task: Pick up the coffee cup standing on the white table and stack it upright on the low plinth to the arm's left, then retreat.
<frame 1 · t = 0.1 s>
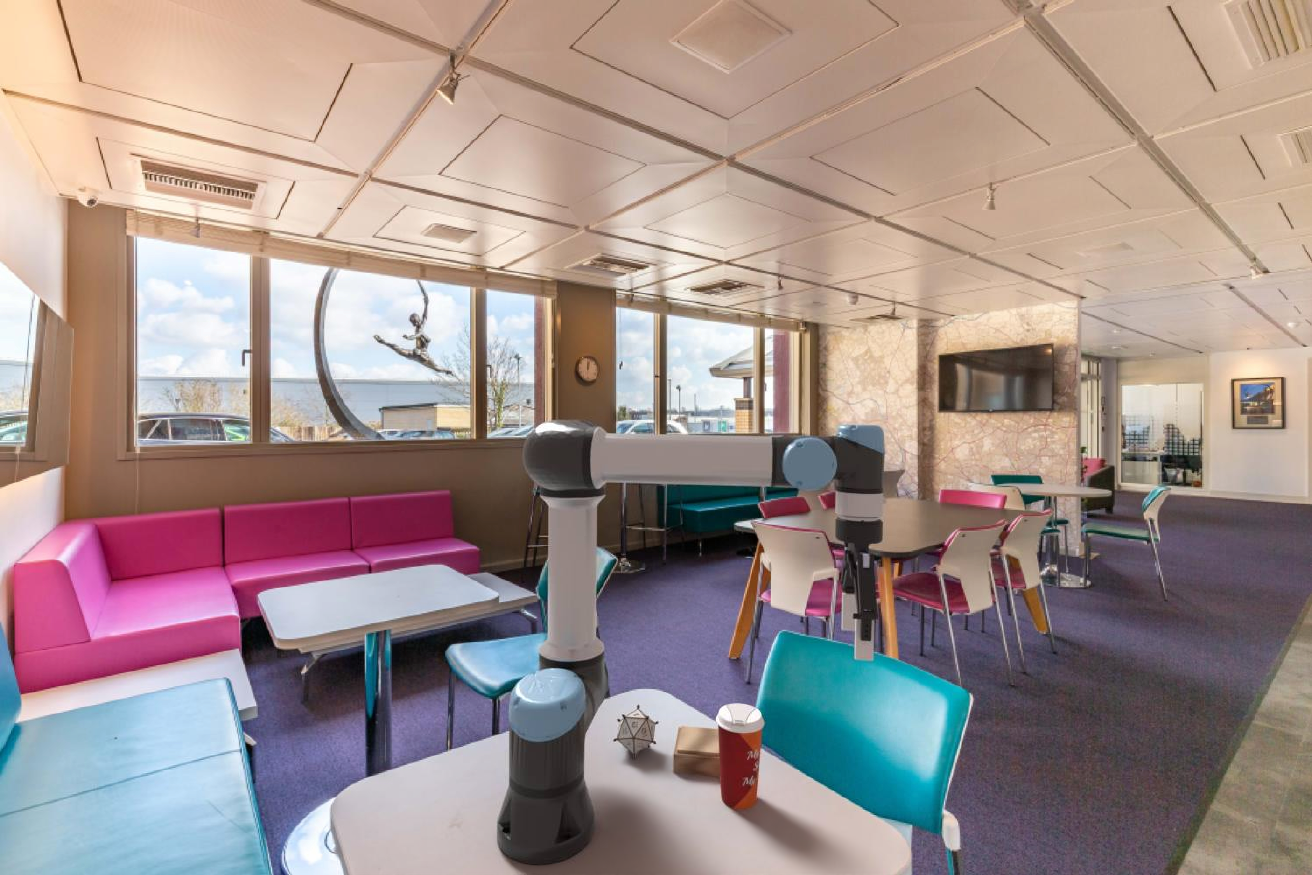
hand: (856, 644, 101), 28 cm above the table, fingers open, 13 cm apart
coffee cup: (738, 799, 104), on the table
game die: (636, 752, 119), on the table
plinth: (702, 759, 116), on the table
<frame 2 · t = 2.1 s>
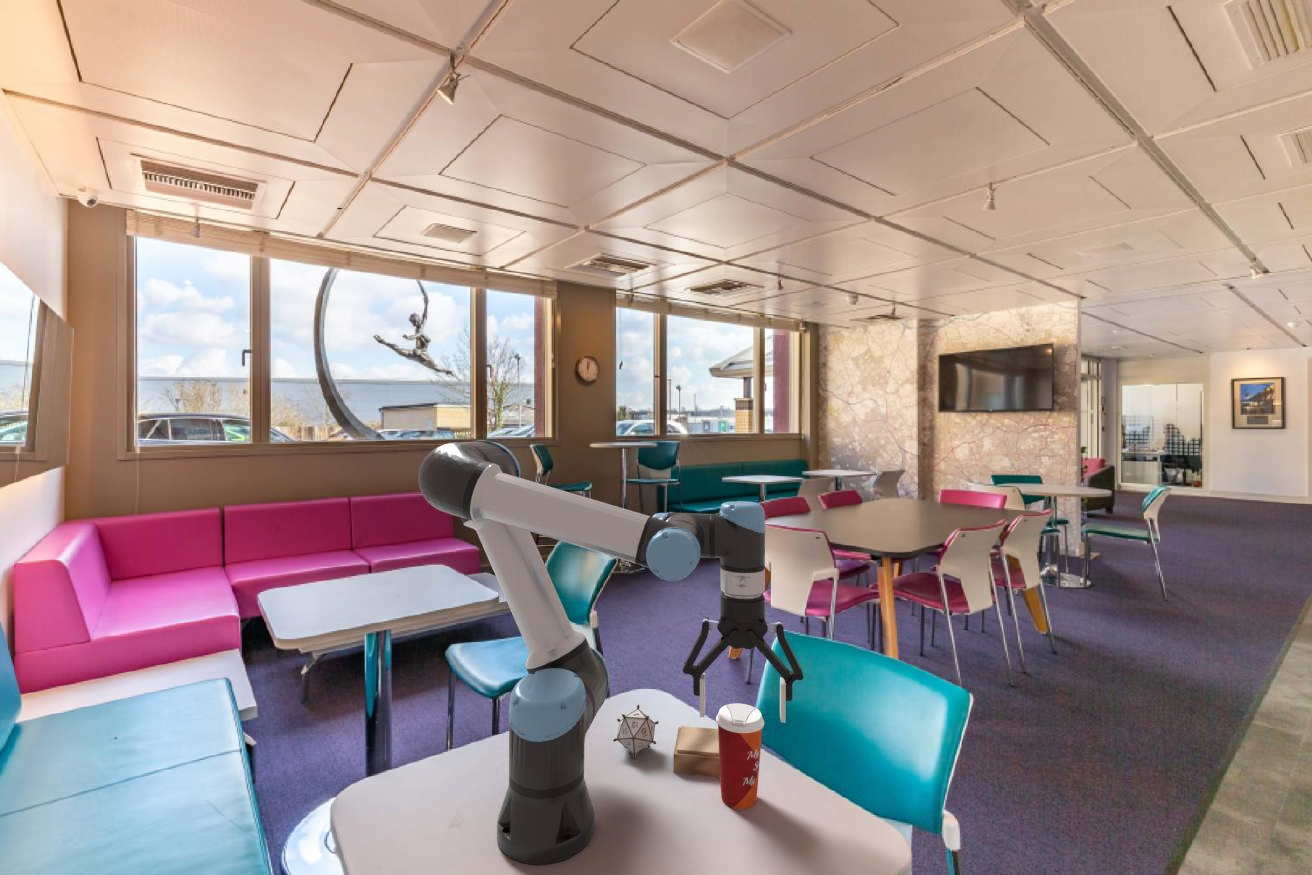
hand: (742, 716, 104), 14 cm above the table, fingers open, 13 cm apart
nothing on the table moved.
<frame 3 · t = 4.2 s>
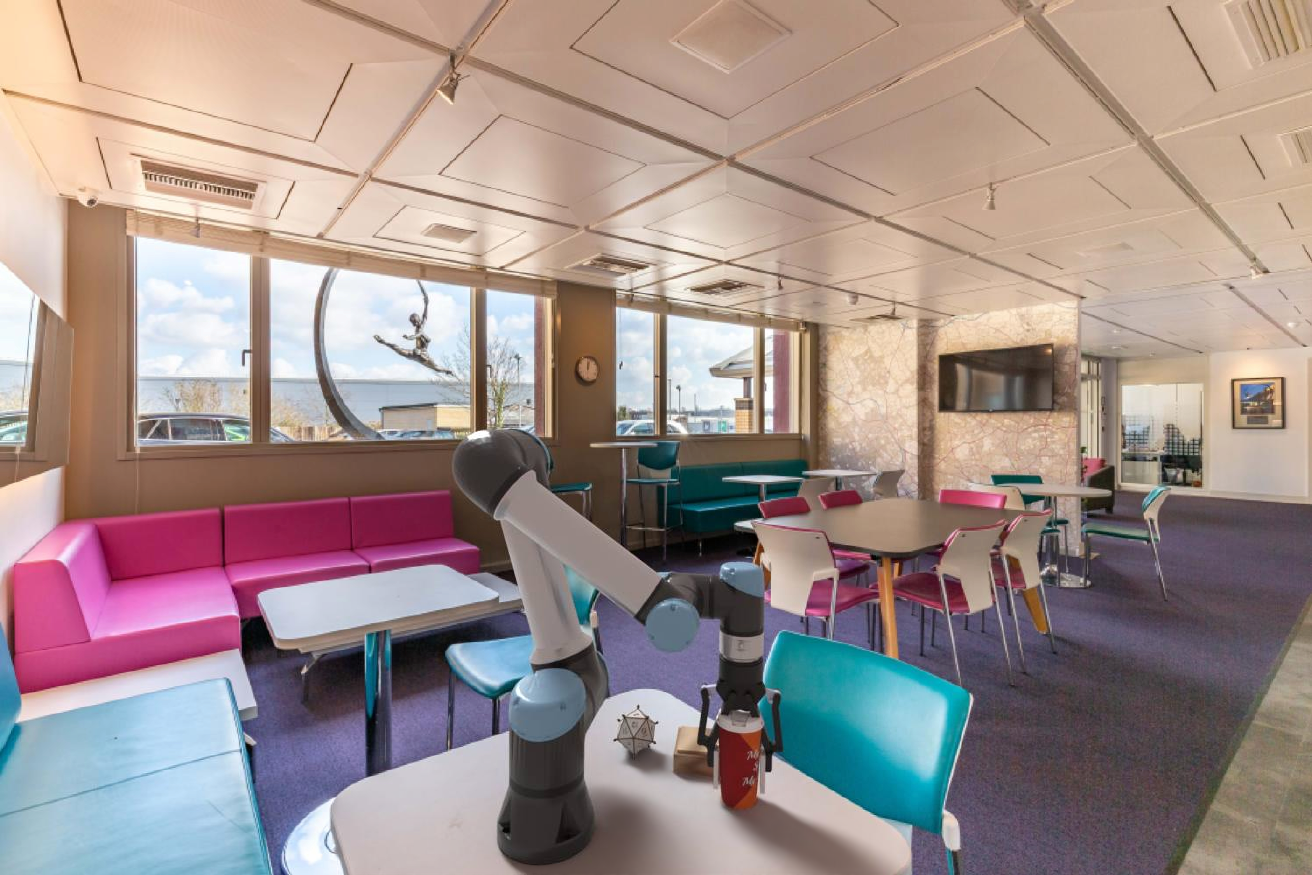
hand: (738, 786, 104), 2 cm above the table, fingers closed on coffee cup, 7 cm apart
coffee cup: (738, 799, 104), on the table, touching gripper
everything else where it was.
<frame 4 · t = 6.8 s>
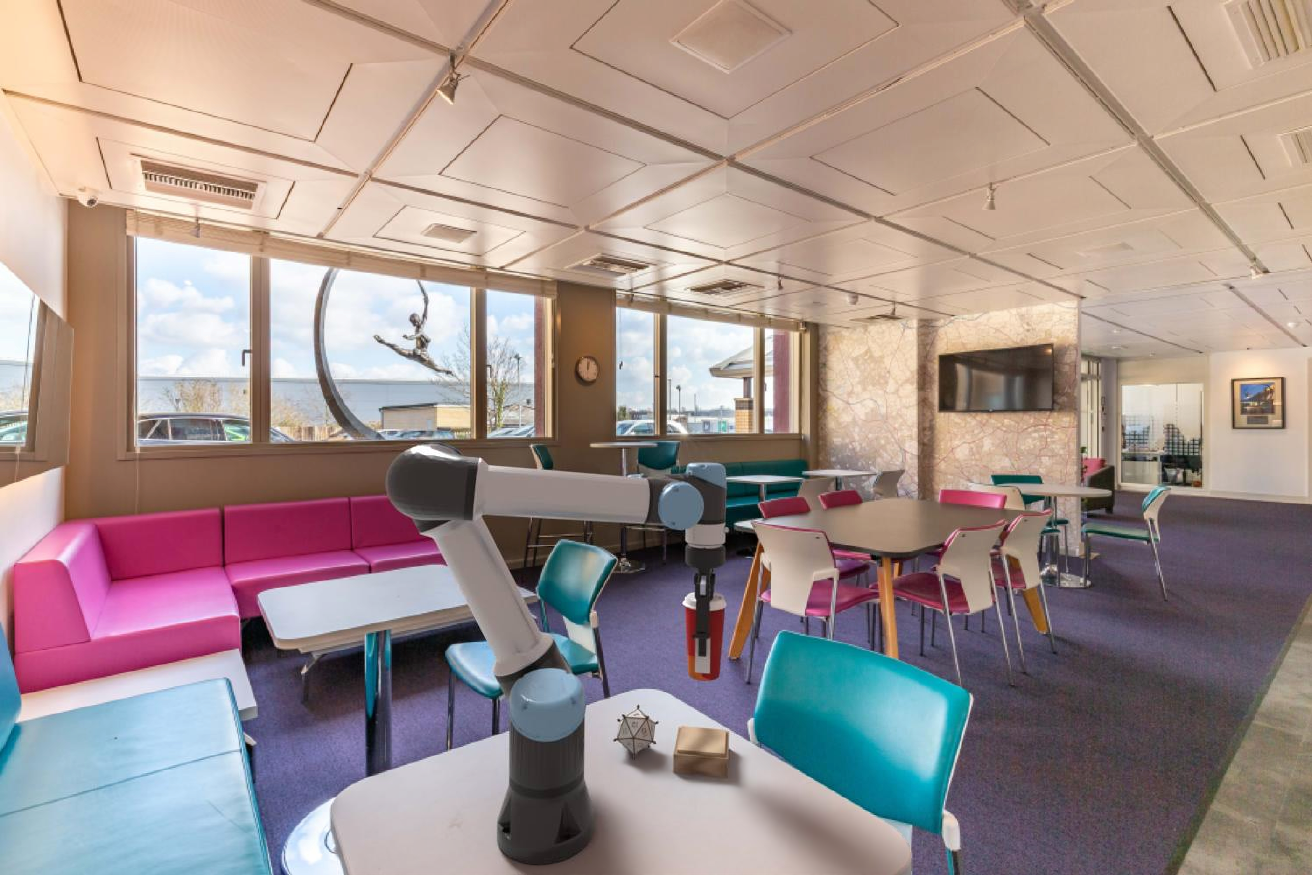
hand: (703, 663, 115), 19 cm above the table, fingers closed on coffee cup, 7 cm apart
coffee cup: (703, 675, 115), point 16 cm above the table, touching gripper
everything else where it was.
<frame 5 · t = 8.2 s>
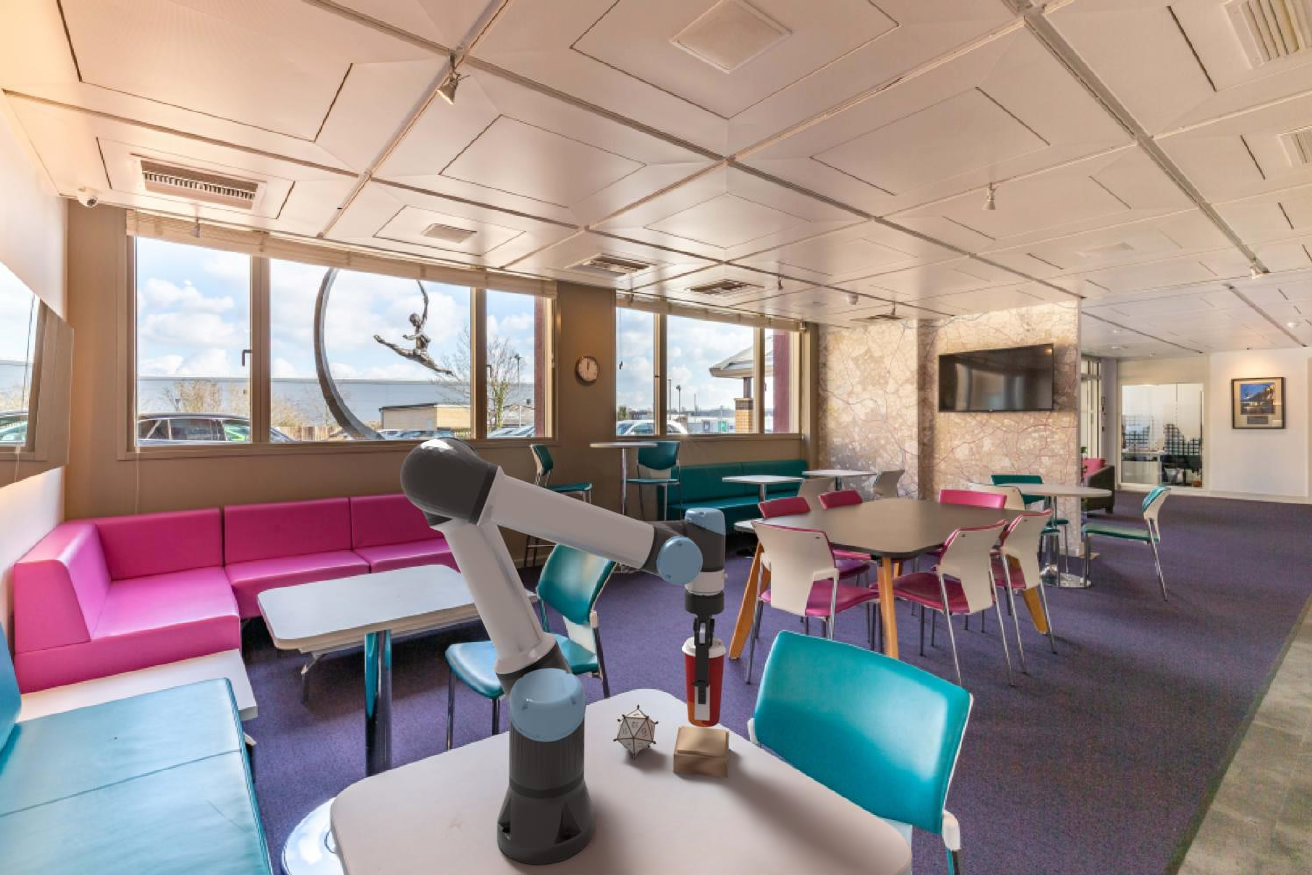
hand: (703, 708, 116), 10 cm above the table, fingers closed on coffee cup, 7 cm apart
coffee cup: (703, 720, 116), point 8 cm above the table, touching gripper
everything else where it was.
when the fingers open (8 cm above the table, at t = 9.5 s): coffee cup drops 1 cm, resting on plinth.
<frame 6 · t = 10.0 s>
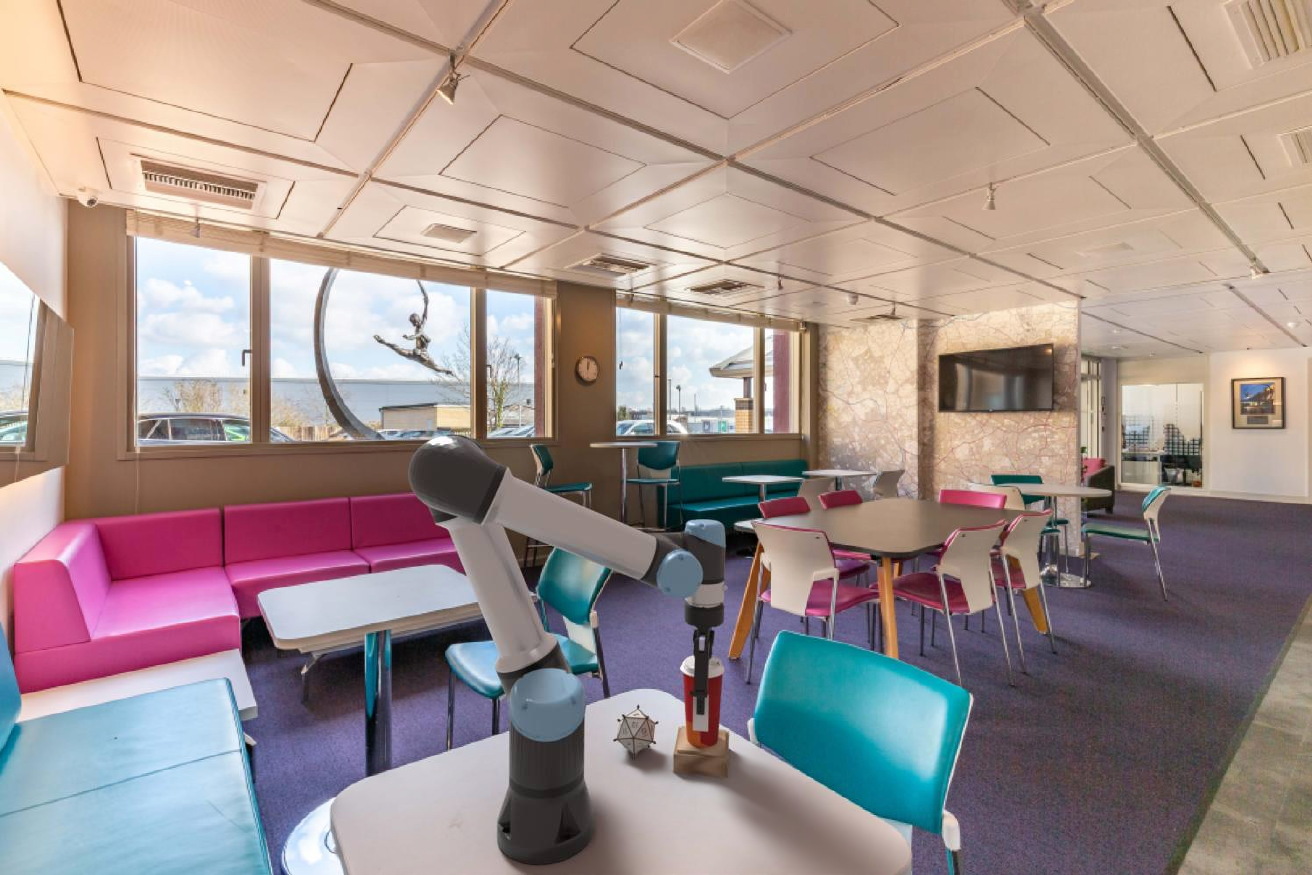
hand: (702, 712, 116), 9 cm above the table, fingers open, 13 cm apart
coffee cup: (702, 740, 116), point 4 cm above the table, touching plinth
everything else where it was.
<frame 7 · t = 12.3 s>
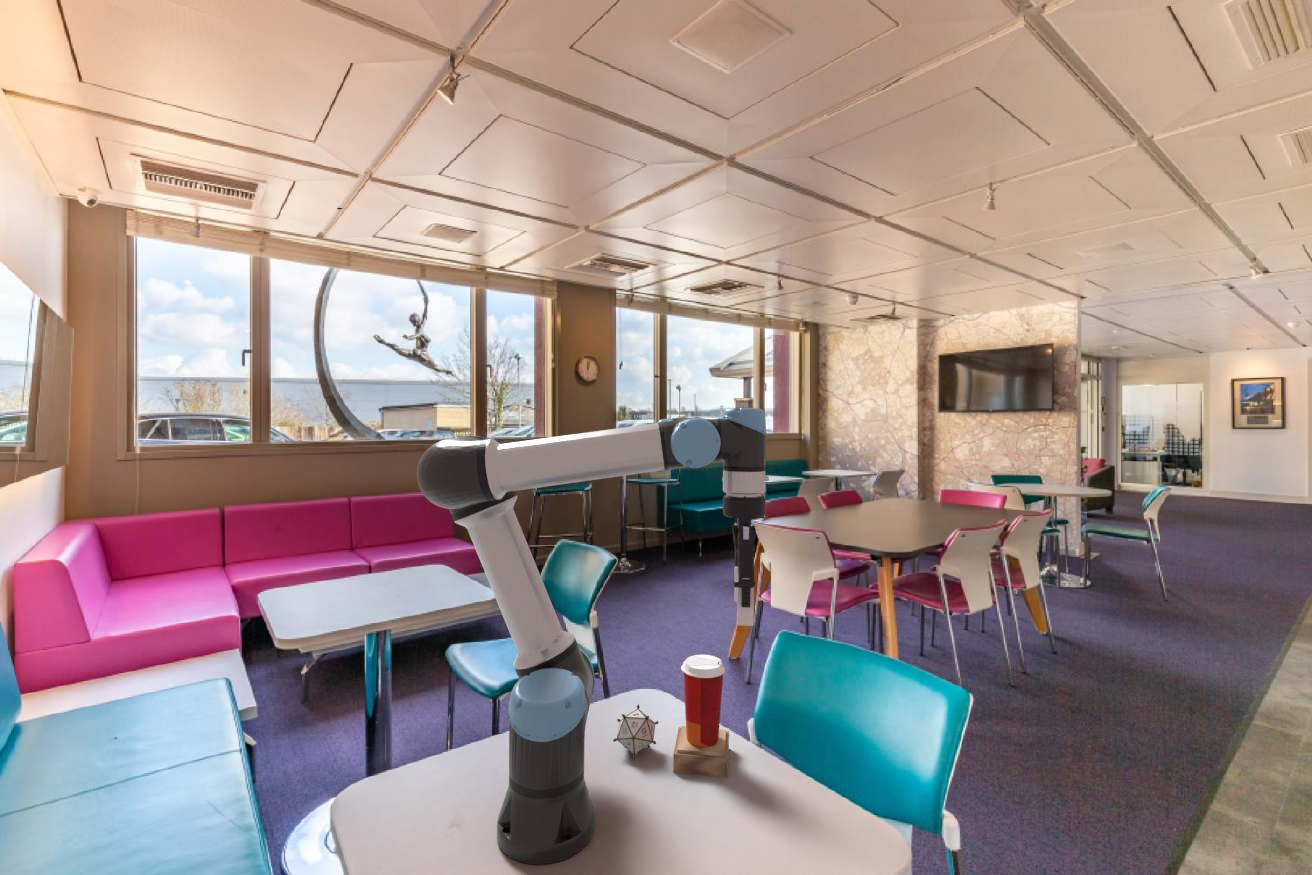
hand: (743, 612, 108), 31 cm above the table, fingers open, 13 cm apart
nothing on the table moved.
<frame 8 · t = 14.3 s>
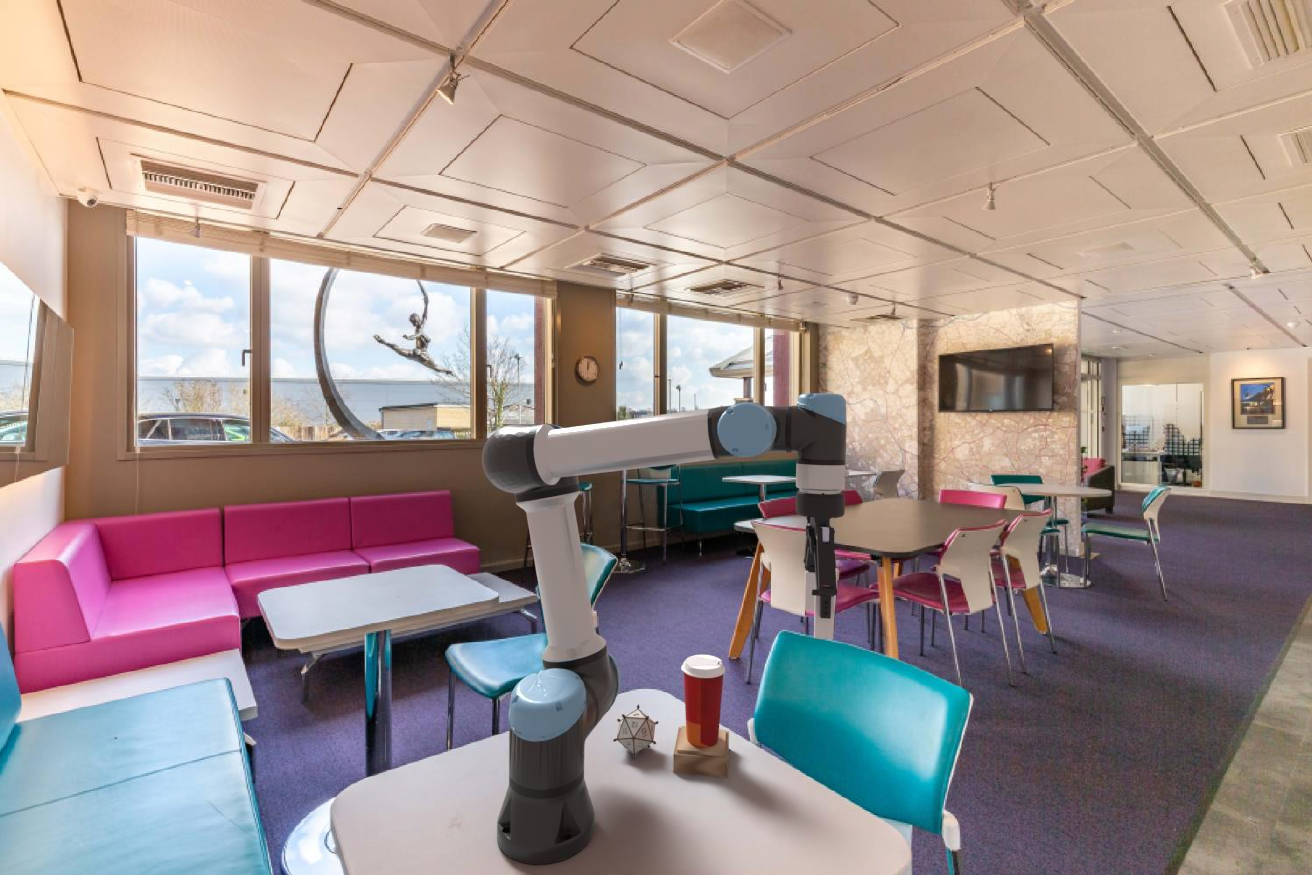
hand: (817, 623, 97), 33 cm above the table, fingers open, 13 cm apart
nothing on the table moved.
at the end: coffee cup inside the target area on the plinth (0.1 cm from its centre), point 3.8 cm above the plinth's base; coffee cup tilted 0°; the gripper is holding nothing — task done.
